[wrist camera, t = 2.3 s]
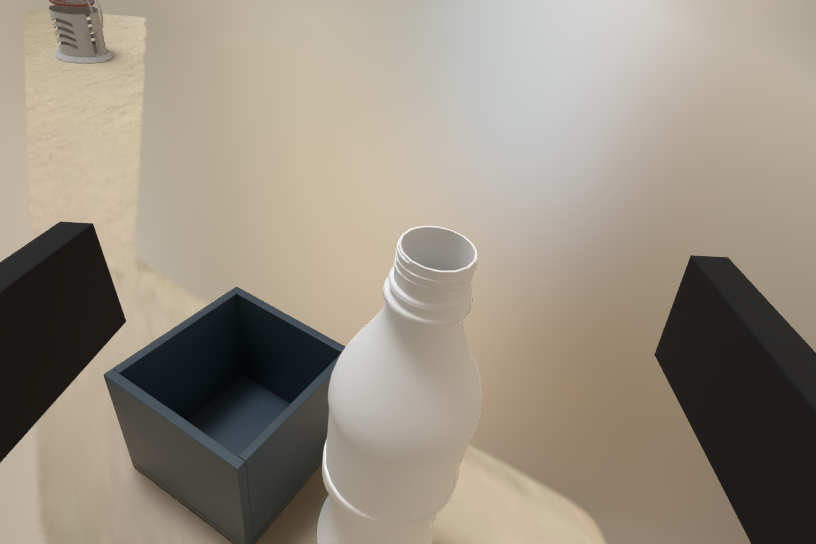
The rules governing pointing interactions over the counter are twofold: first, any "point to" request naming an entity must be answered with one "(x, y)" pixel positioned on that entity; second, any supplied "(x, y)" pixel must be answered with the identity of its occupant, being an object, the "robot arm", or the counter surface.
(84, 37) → the french press
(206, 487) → the tub
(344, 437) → the water bottle
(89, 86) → the counter surface
